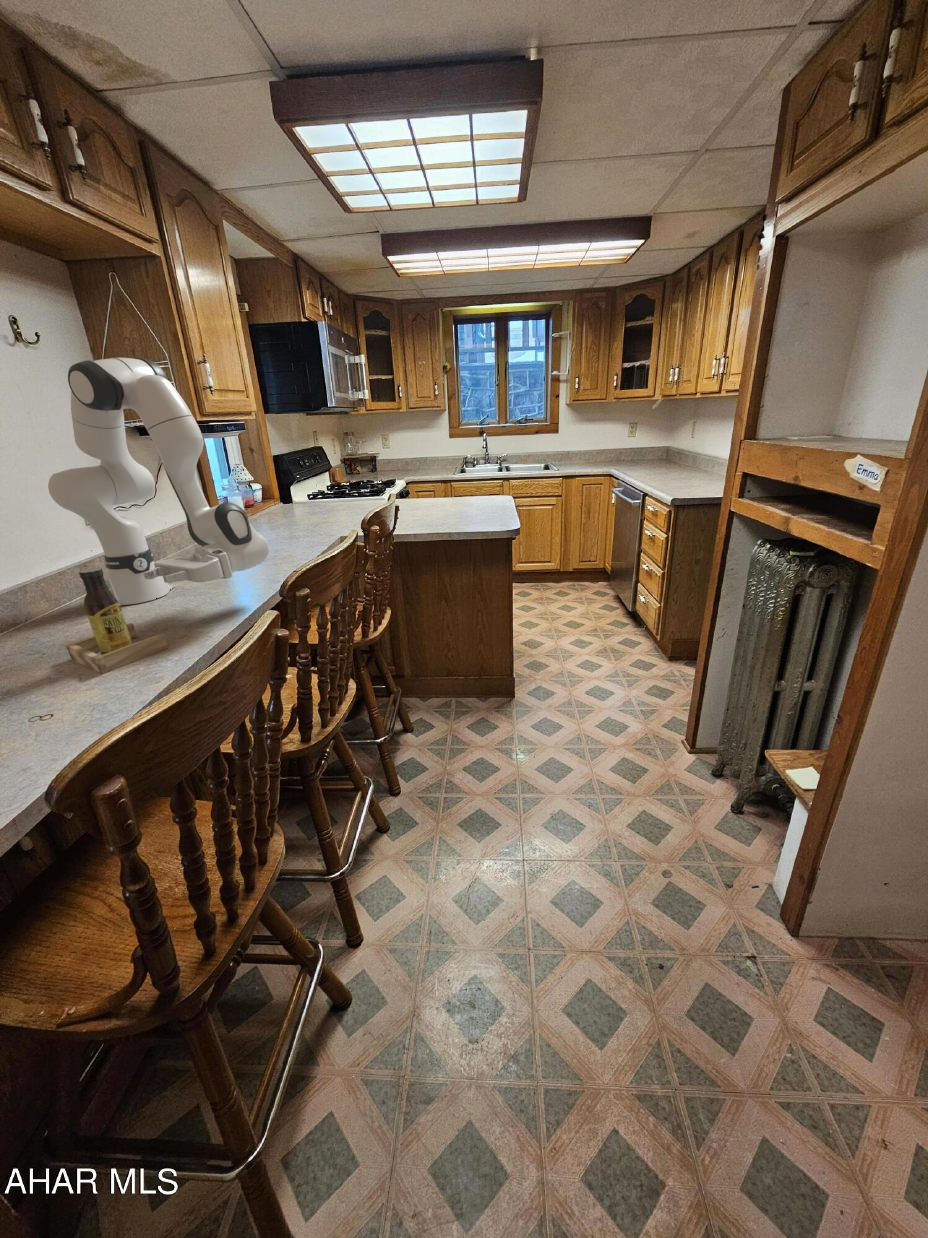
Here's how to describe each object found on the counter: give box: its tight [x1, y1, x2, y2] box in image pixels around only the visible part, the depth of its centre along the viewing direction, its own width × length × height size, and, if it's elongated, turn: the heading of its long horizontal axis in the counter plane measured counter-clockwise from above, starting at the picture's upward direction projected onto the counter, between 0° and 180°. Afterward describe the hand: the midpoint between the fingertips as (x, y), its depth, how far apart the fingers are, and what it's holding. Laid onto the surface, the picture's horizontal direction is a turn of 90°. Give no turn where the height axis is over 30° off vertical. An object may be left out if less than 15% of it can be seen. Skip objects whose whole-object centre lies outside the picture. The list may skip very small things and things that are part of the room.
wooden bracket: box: [65, 622, 169, 675], centre depth 110 cm, size 16×14×4 cm
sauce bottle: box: [78, 567, 133, 655], centre depth 107 cm, size 7×6×20 cm
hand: (155, 578), depth 114 cm, fingers open, 8 cm apart
